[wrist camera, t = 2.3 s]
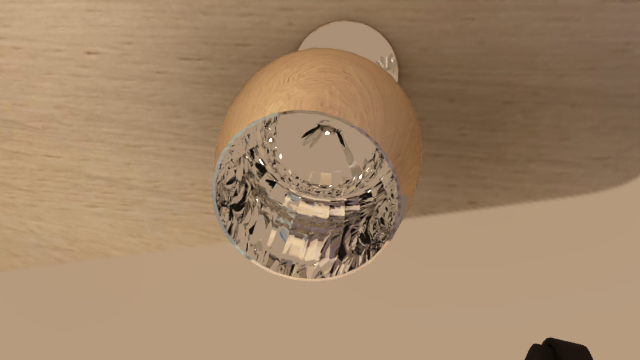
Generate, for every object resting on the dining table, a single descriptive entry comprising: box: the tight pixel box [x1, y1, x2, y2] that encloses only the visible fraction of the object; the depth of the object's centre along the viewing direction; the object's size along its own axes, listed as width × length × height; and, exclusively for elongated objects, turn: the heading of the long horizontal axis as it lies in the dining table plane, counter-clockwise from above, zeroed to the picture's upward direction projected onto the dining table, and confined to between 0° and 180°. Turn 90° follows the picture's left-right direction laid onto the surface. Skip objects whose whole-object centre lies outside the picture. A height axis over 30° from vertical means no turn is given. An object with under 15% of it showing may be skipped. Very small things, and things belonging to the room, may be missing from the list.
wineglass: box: [212, 20, 422, 282], centre depth 20 cm, size 6×6×12 cm
